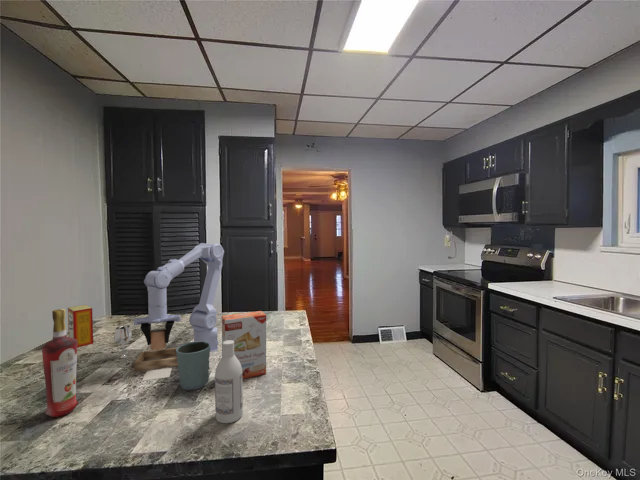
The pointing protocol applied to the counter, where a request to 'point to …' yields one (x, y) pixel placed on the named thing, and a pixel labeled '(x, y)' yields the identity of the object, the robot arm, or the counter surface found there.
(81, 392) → the counter surface
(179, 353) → the green cup
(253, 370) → the cracker box
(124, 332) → the wineglass
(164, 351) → the brown wooden shallow tray
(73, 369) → the liquor
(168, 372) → the tile
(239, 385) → the bath foam
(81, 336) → the baking soda box
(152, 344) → the pot
